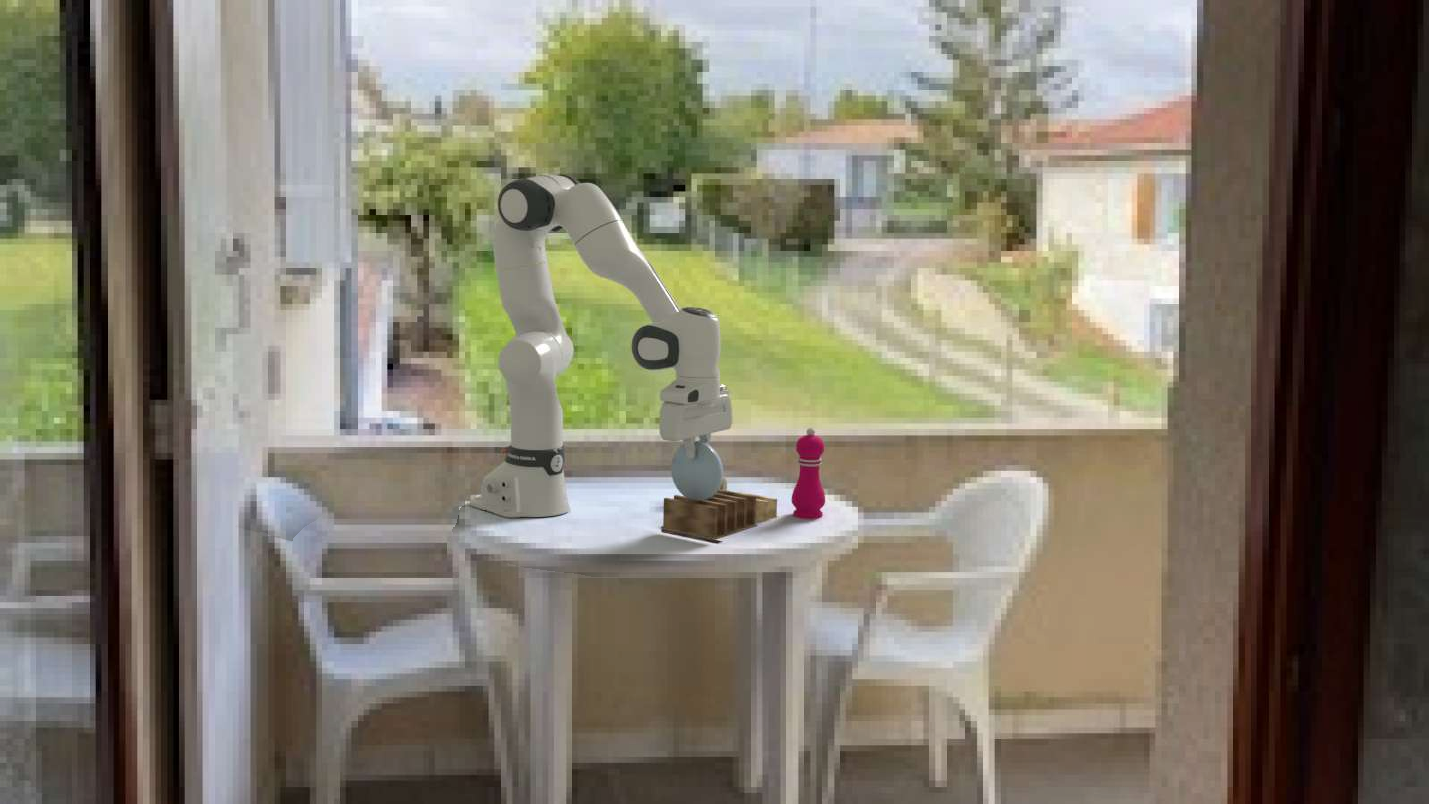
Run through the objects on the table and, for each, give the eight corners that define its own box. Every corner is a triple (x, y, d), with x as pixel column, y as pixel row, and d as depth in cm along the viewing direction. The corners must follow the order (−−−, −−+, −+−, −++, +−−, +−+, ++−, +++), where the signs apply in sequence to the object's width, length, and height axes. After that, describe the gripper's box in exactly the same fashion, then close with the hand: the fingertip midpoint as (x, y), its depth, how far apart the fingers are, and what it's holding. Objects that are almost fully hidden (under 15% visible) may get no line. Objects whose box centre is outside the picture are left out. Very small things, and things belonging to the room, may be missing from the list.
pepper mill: (783, 519, 314) (786, 427, 311) (806, 514, 319) (809, 423, 316) (809, 525, 309) (812, 432, 306) (831, 520, 314) (835, 428, 311)
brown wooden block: (724, 518, 313) (725, 495, 312) (740, 513, 318) (741, 491, 317) (763, 526, 307) (764, 502, 306) (779, 520, 312) (780, 498, 311)
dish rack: (661, 532, 300) (661, 497, 299) (702, 519, 312) (703, 486, 311) (716, 543, 292) (717, 508, 291) (757, 530, 304) (758, 496, 303)
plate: (670, 495, 299) (671, 438, 297) (675, 494, 301) (676, 437, 299) (717, 505, 292) (719, 446, 290) (722, 503, 294) (724, 445, 292)
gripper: (715, 382, 303) (714, 447, 305) (654, 393, 287) (653, 462, 289) (740, 385, 299) (739, 451, 302) (679, 396, 283) (678, 466, 285)
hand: (696, 457), depth 295 cm, fingers closed on plate, 2 cm apart
